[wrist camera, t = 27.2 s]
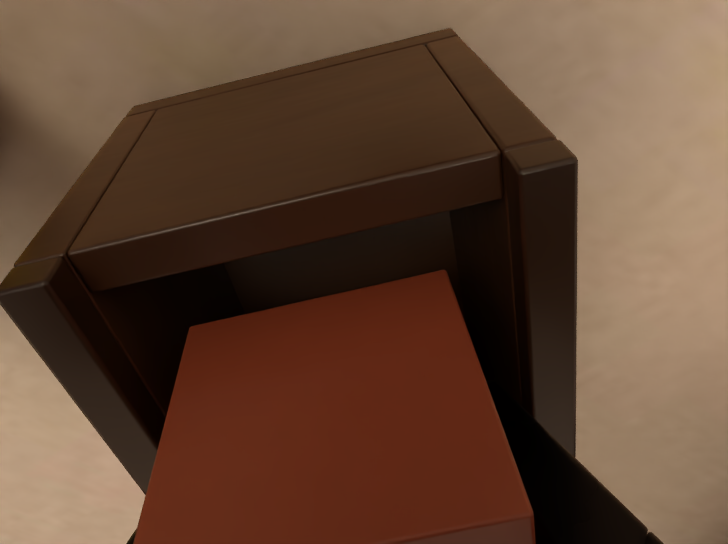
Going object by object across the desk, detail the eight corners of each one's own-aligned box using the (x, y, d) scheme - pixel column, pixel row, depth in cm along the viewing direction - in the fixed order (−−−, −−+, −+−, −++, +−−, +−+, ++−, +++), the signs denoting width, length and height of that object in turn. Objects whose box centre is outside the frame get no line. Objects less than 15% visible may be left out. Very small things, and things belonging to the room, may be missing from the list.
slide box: (132, 105, 14) (-11, 295, 8) (451, 26, 14) (580, 157, 7) (289, 446, 22) (283, 678, 15) (495, 402, 21) (574, 622, 15)
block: (445, 267, 9) (535, 514, 6) (472, 435, 12) (546, 681, 8) (188, 325, 10) (117, 598, 6) (268, 478, 12) (252, 735, 8)
